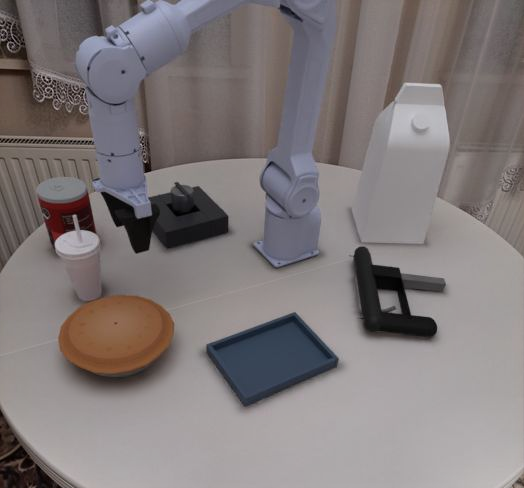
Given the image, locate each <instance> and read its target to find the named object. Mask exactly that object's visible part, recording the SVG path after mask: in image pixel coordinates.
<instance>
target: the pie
mask: <svg viewBox="0 0 524 488" xmlns="http://www.w3.org/2000/svg"><path fill="white" fill-rule="evenodd" d="M174 331H175V322H174V320H173V318H172V315H171V314H170V313H169V312H168V311H167V309H165V307H163V306H162V305H161V304H159V303H157V302H156V301H154V300H152V299H151V298H147V297H143V296H139V295H135V294H134V295H133V294H132V295H131V294H119V295H111V296H105V297H102V298H101V297H100V298H97V299H95V300H92V301H88V302H87V303H85V304H83V305H81V306H79V307H78V308H76V309H75V310H74V311H73V312H72V313H70V314H69V315H68V316H67V318H66V319H65V320H64V322H63V323H62V324H61V326H60V329H59V332H58V337H57V339H58V347H59V351H60V352H61V353H62V355H63V357H64V358H65V359H66V360H67V361H68V362H70V363H71V364H73V365H75V366H76V367H79V368H81V369H83V370H87V371H88V372H90V373H92V374H95V375H98V376H102V377H105V378H125V377H130V376H133V375H135V374H138V373H141V372H143V371H144V370H145V369H147V368H149V367H150V366H151V365H152V364H154V362H155V361H156V360H157V359H158V358H159V357H161V355H162V354H163V353H164V352H166V350H167V349H168V348H169V347H170V344H171V341H172V339H173V336H174V333H175V332H174Z"/></svg>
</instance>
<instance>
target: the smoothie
mask: <svg viewBox="0 0 524 488" xmlns="http://www.w3.org/2000/svg"><path fill="white" fill-rule="evenodd" d="M73 220H74V224H75V229H76V231H71V232H67V233H65V234H63V235H61V236H60V237H59V238H57V240H56V241H55V248H56V249H55V250H56V251H55V250H54V251H55V253H56V255H57V256H58V257H60V259H61V261H62V263H63V265H64V268H65V271H66V272H67V276H68V277H69V279H70V283H71V284H72V286H73V289H74V291H75V293H76V295H77V298H79V300H81V301H83V302H91V301H94V300H97V299H100V298H101V295H102V293H103V290H102V289H103V288H102V274H101V257H100V256H101V255H100V250H101V247H102V243H101V239H100V237H99V235H98V234H97V235H96V234H95V233H93V232H90V231H85V230H80V228H79V224H78V219H77V215H73Z"/></svg>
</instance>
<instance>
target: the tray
mask: <svg viewBox="0 0 524 488" xmlns="http://www.w3.org/2000/svg"><path fill="white" fill-rule="evenodd" d="M205 351H206V354H207V356H208V358H210V360H211V361H212V363H213V364H214V365H215V367H216V369H218V371H219V373H220V374H221V375H222V377H223V378H224V380H225V381H226V383H227V384H228V385H229V386H230V388H231V389H232V391H233V392H234V393H235V395H236V396H237V398H238V399H239V401H240V402H241V403H242V405H243V407H247V406H250V405H253V404H254V403H258V402H259V401H262V400H263V399H266V398H269V397H271V396H273V395H275V394H277V393H280V392H282V391H285V390H287V389H289V388H291V387H294V386H296V385H299V384H300V383H302V382H305V381H307V380H310V379H312V378H314V377H316V376H318V375H321V374H323V373H326V372H328V371H330V370H332V369H335V368H337V367H338V364H339V359H340V358H339V357H338V356H337V354H335V352H333V351H332V349H331V348H330V347H329V346H328V345H327V344H326V343H325V341H323V340H322V339H321V338H320V336H318V334H317V333H316V332H314V330H313V329H312V328H311V327H310V326H309V325H308V324H307V323H306V322H305V321H304V320H303V319H302V318H301V317H300V315H299V314H298V313H297V312H296V311H293V312H291V313H288V314H285V315H283V316H280V317H278V318H274V319H271V320H269V321H267V322H264V323H261V324H258V325H255V326H253V327H250V328H247V329H245V330H242V331H239V332H235V333H234V334H231V335H228V336H225V337H222V338H220V339H218V340H217V339H216V340H215V341H212V342H209V343H206V344H205Z"/></svg>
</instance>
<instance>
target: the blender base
mask: <svg viewBox="0 0 524 488" xmlns="http://www.w3.org/2000/svg"><path fill="white" fill-rule="evenodd" d="M191 187H192V188H193V195H194V213H190V214H186V215H182V216H178V217H176V216H175V215H174V213H173V211H172V198H171V191H170V192H166V193H162V194H156V195H152V196H148V199H149V201H150V202H151V205H152V204H156V205H157V206H158V207H159V209H160V215H159V217H158V218H157V220H156V222H155V224H154V227H153V230H152V233H154V234H155V235H156V237H157V238H158V239H159V241H160V242H161V243H162V244H163V246H164V247H165V248H166V250H168V249H172V248H176V247H180V246H183V245H187V244H191V243H194V242H195V243H196V242H199V241H202V240H205V239H208V238H209V239H210V238H212V237H217V236H219V235H224V234H227V233H229V215H228V214H227V213H226V211H224V210H223V209H222V208H221V207H220V205H218V204H217V203H216V201H214V200H213V199H212V197H210V196H209V195H208V193H206V192H205V191H204V190H203V189H202V188H201V187H200V186H199V185H197V186H191Z"/></svg>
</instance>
